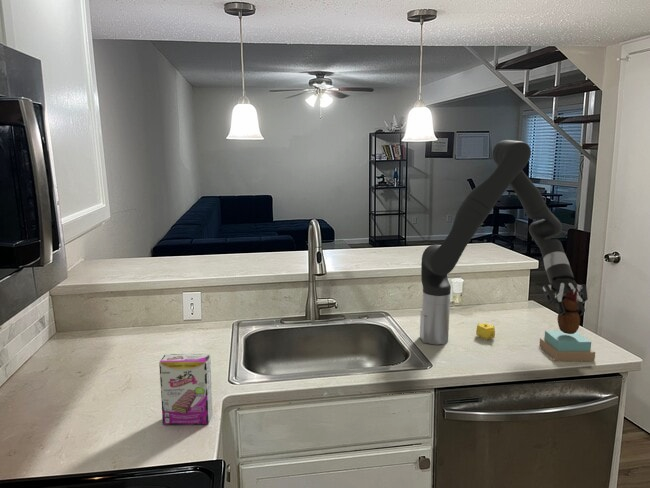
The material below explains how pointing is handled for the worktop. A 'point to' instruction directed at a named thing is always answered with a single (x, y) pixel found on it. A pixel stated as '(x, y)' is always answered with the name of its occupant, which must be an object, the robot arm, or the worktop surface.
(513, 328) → the worktop surface
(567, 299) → the wooden figurine
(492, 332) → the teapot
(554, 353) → the tower base
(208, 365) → the candy bar box
